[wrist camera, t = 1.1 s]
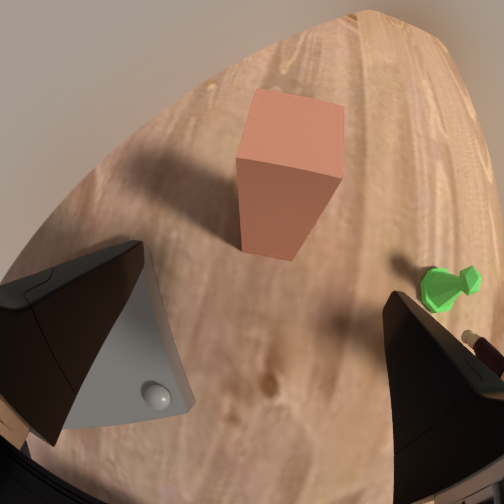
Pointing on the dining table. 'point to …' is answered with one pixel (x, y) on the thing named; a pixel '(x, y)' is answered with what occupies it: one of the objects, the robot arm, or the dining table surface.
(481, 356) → the grandmother figurine
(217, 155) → the dining table surface
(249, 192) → the pillar brick
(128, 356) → the base brick
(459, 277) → the game piece
